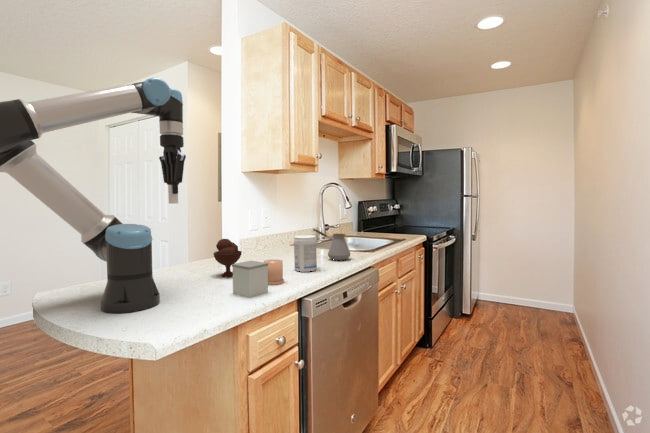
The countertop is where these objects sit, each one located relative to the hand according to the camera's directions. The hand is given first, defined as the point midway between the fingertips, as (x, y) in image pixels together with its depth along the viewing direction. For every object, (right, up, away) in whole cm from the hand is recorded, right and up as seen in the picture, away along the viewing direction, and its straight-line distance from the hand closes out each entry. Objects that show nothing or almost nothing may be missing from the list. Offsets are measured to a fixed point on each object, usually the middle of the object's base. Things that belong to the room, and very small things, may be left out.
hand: (173, 203), depth 125 cm
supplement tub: (+45, -28, +29) cm, 60 cm away
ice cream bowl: (+14, -29, +18) cm, 37 cm away
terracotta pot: (+34, -29, +7) cm, 45 cm away
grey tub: (+29, -30, -7) cm, 42 cm away
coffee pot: (+56, -26, +56) cm, 84 cm away
